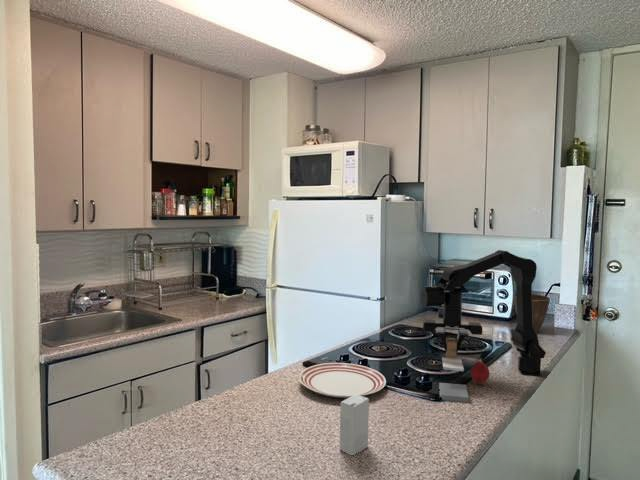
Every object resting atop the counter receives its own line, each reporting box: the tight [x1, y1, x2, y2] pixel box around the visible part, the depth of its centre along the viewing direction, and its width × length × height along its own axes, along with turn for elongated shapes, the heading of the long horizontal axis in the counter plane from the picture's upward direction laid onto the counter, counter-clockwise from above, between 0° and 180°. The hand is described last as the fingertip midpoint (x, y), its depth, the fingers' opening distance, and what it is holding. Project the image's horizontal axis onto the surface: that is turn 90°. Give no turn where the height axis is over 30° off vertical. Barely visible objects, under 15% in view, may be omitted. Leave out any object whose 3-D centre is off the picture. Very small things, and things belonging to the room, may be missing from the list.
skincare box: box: [339, 395, 370, 456], centre depth 112 cm, size 6×4×12 cm
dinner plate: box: [298, 362, 387, 399], centre depth 152 cm, size 28×27×3 cm
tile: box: [438, 382, 469, 404], centre depth 146 cm, size 2×8×10 cm
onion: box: [470, 359, 490, 385], centre depth 154 cm, size 6×6×8 cm
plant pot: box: [513, 293, 551, 334], centre depth 218 cm, size 15×15×16 cm
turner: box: [441, 337, 465, 372], centre depth 155 cm, size 15×6×6 cm, turn 168°
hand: (451, 352), depth 160 cm, fingers closed on turner, 3 cm apart
